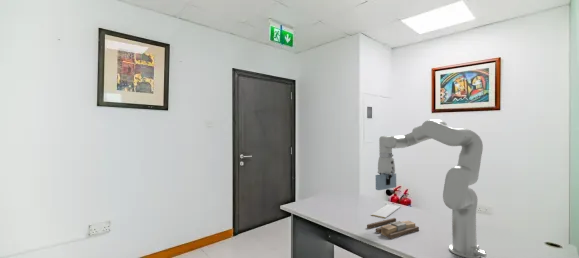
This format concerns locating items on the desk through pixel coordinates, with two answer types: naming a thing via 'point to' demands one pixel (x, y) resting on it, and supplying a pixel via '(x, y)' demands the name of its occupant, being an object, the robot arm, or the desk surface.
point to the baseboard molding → (386, 211)
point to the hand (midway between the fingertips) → (386, 184)
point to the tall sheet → (382, 182)
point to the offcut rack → (394, 232)
